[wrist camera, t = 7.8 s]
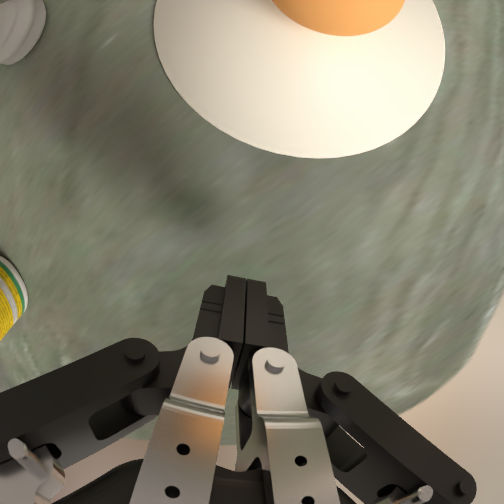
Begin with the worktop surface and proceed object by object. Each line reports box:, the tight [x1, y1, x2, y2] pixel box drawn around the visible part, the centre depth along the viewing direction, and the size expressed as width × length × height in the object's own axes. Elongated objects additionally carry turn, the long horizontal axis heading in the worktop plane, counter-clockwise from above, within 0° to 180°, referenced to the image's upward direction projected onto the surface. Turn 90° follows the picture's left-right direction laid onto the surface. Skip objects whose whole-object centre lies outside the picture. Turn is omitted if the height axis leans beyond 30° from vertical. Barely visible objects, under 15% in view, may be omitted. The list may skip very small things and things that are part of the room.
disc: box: [153, 0, 445, 158], centre depth 9 cm, size 14×14×1 cm
